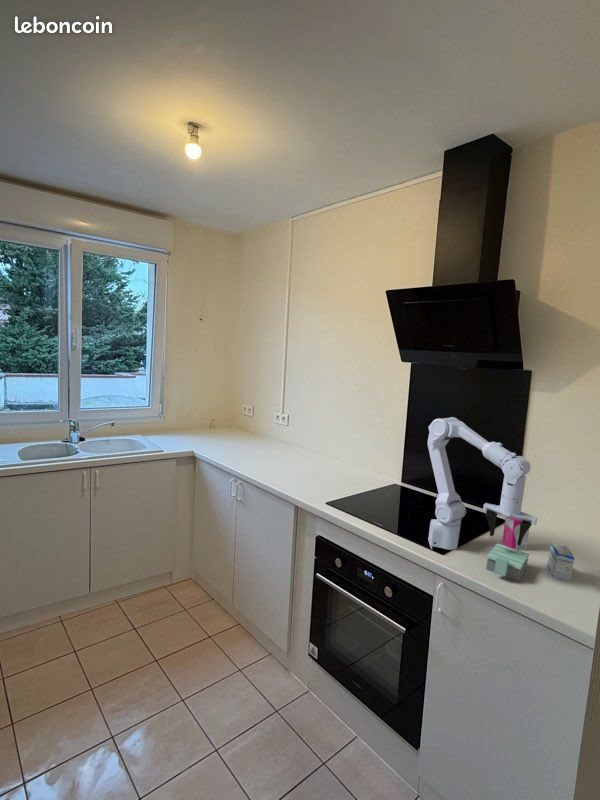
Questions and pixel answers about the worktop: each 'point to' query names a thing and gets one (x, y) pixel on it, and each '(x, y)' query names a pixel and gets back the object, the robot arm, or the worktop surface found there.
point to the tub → (511, 572)
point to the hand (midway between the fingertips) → (505, 539)
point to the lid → (507, 558)
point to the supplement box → (514, 534)
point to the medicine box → (560, 562)
